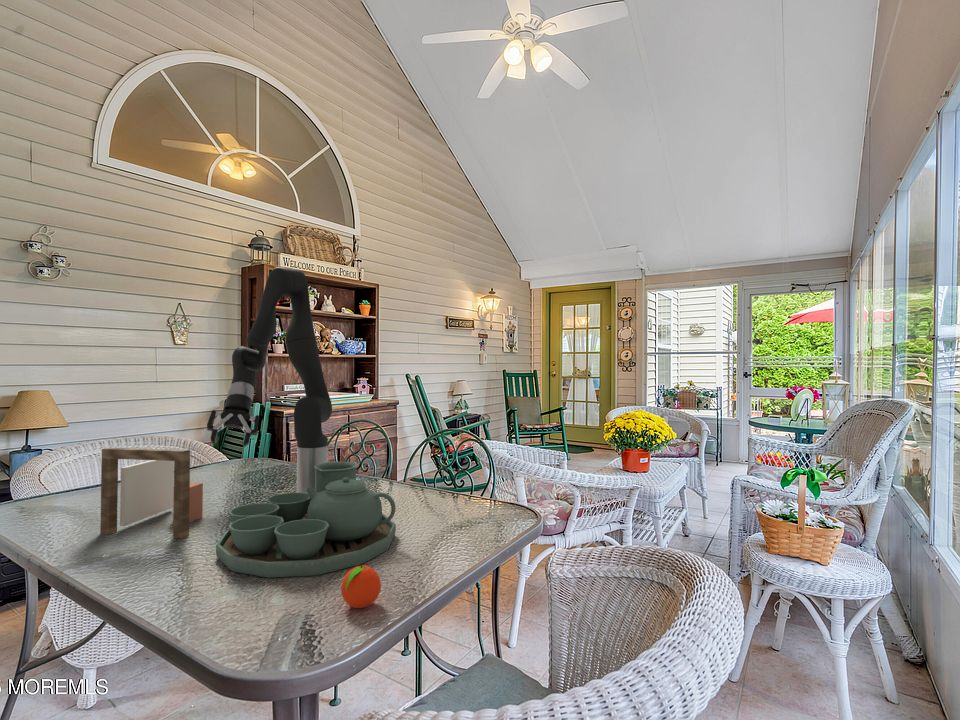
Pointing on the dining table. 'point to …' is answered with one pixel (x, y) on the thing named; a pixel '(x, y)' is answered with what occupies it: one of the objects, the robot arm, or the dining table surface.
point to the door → (146, 490)
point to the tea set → (309, 528)
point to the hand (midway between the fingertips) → (229, 444)
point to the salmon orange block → (195, 501)
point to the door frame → (177, 455)
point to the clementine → (360, 586)
